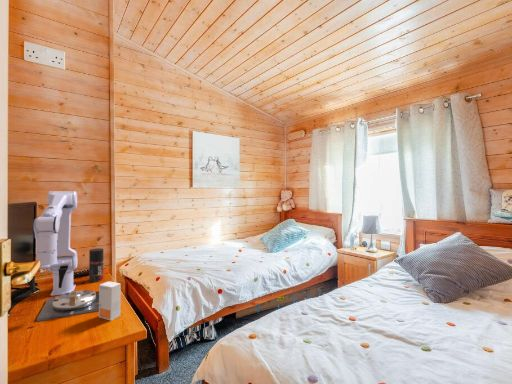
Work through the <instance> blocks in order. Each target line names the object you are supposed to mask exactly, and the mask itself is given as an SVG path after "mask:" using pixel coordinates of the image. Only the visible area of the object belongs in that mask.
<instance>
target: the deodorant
mask: <svg viewBox="0 0 512 384" xmlns="http://www.w3.org/2000/svg"><path fill="white" fill-rule="evenodd" d="M88 252H89V257H88V258H89V260H88V263H89V264H88V265H89V267H88V268H89V269H88V271H89V272H88V274H89V278H88V282H90V283H98V282H99V283H100V282H102V281H103V280H104V248H101V247H99V248H90V249H89V250H88ZM101 280H102V281H101Z"/></svg>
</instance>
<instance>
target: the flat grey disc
mask: <svg viewBox="0 0 512 384" xmlns="http://www.w3.org/2000/svg"><path fill="white" fill-rule="evenodd" d="M95 292H96V291H93V290H89V289H88V290H87V289H85V290H84V289H83V290H75V289H74V291H72V292H69V293H65V294H61V295H57V296H55V297H54V298H55V299H54V300H53V309H55V310H59V311H67V310H74V309H79V308H82V307H85V306H88V305H90V304H92V303H93V302H94V301H95V300H96V293H95Z"/></svg>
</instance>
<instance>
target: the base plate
mask: <svg viewBox="0 0 512 384" xmlns="http://www.w3.org/2000/svg"><path fill="white" fill-rule="evenodd" d="M94 292H95V293H96V300H95V301H94V302H93V303H92V304H90V305H88V306H85V307H82V308H79V309H74V310H67V311H59V310H55V309H53V300H54V299H55V298H56V297H50V298H47V300H46V301H45V303H44V305H43V307H42V309H41V310H40V313H39V314H38V316H37V318H36V322H42V321H47V320H53V319H60V318H64V317H65V318H66V317H71V316H77V315H81V314H87V313H93V312H94V313H95V312H99V290H98V291H94Z"/></svg>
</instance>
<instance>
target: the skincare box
mask: <svg viewBox="0 0 512 384" xmlns="http://www.w3.org/2000/svg"><path fill="white" fill-rule="evenodd" d="M121 285H122V283H119V282H114V281H108V280H107V281H106V282H103V283H100V284H98V291H99V311H98V318H99V319H102V320H108V321H110V322H112V321H113V320H115V319H117V318H119V317H121V295H122V294H121V293H122V291H121V289H122V288H121V287H122V286H121Z"/></svg>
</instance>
